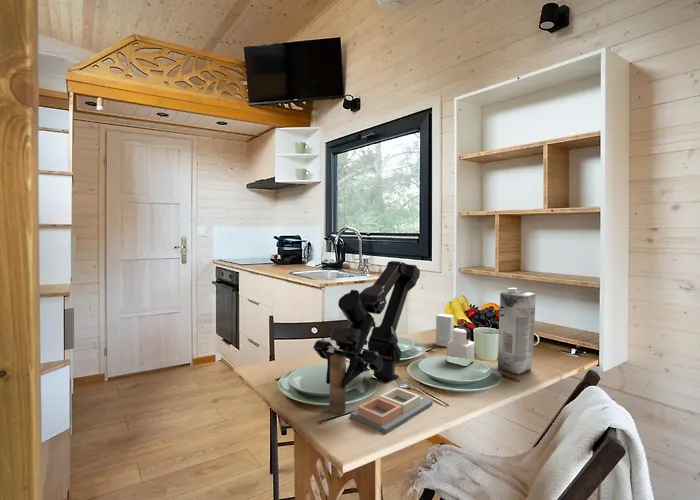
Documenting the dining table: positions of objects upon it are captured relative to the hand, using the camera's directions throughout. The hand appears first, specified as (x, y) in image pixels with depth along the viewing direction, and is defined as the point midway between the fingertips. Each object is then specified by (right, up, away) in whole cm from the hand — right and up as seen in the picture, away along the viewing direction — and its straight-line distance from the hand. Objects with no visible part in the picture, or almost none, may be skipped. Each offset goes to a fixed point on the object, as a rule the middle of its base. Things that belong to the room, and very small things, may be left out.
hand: (334, 385), depth 99 cm
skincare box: (+41, -4, +59) cm, 72 cm away
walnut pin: (+1, -7, +2) cm, 7 cm away
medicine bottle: (+42, -6, +40) cm, 58 cm away
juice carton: (+59, -6, +34) cm, 68 cm away
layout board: (+15, -7, +2) cm, 17 cm away
